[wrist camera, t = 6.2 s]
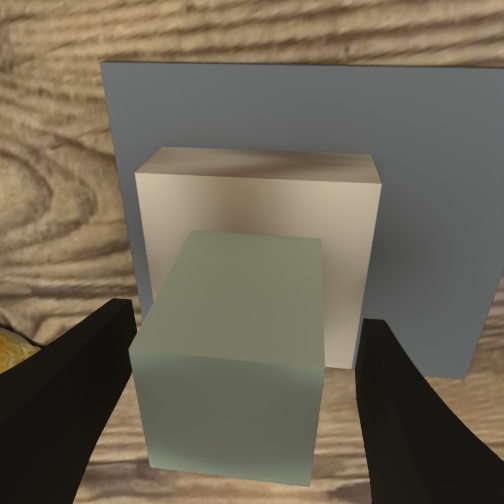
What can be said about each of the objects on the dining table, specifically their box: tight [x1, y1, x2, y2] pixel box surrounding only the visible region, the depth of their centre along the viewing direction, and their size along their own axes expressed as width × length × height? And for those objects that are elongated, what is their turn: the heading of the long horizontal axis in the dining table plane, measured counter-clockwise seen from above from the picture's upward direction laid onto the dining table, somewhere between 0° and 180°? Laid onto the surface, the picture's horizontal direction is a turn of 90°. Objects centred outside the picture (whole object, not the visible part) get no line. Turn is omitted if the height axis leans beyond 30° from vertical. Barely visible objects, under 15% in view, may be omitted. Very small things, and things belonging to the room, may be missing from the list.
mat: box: [100, 61, 504, 380], centre depth 18 cm, size 16×14×1 cm
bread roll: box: [0, 328, 41, 374], centre depth 24 cm, size 8×9×4 cm
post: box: [128, 230, 325, 487], centre depth 13 cm, size 4×4×6 cm
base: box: [135, 146, 382, 369], centre depth 17 cm, size 8×8×3 cm
